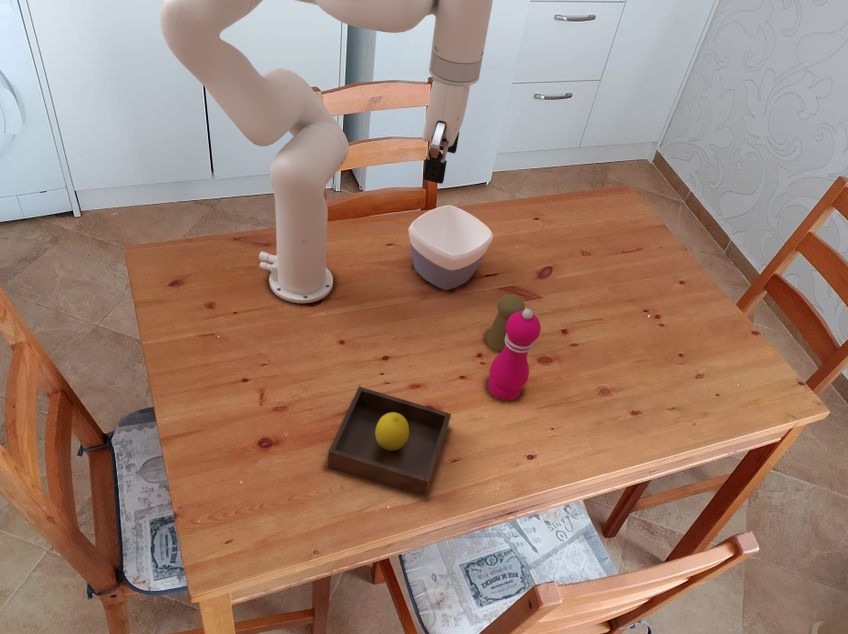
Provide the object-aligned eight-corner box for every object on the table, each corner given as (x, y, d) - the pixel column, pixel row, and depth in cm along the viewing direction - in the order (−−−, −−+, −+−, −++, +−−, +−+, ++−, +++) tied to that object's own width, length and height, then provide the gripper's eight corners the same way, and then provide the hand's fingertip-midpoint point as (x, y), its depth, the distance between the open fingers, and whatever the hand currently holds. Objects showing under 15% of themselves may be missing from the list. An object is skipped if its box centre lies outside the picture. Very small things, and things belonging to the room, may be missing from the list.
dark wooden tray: (327, 467, 118) (328, 451, 115) (357, 402, 129) (358, 386, 126) (425, 496, 117) (428, 482, 114) (447, 429, 128) (451, 413, 124)
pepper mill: (497, 407, 133) (521, 329, 118) (478, 378, 137) (499, 300, 123) (530, 396, 136) (557, 320, 121) (510, 369, 140) (535, 292, 126)
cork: (513, 355, 143) (526, 314, 135) (483, 347, 143) (494, 306, 135) (518, 334, 147) (530, 294, 139) (489, 326, 147) (499, 286, 139)
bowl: (493, 274, 159) (503, 234, 151) (446, 305, 150) (454, 263, 142) (441, 239, 165) (449, 198, 157) (393, 266, 156) (398, 224, 148)
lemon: (411, 440, 124) (416, 410, 119) (398, 464, 121) (403, 435, 115) (381, 428, 125) (385, 398, 119) (368, 452, 121) (371, 423, 116)
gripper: (443, 36, 113) (430, 135, 126) (416, 83, 101) (404, 187, 113) (490, 47, 113) (472, 145, 125) (468, 96, 101) (451, 199, 113)
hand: (440, 165), depth 119 cm, fingers open, 9 cm apart
